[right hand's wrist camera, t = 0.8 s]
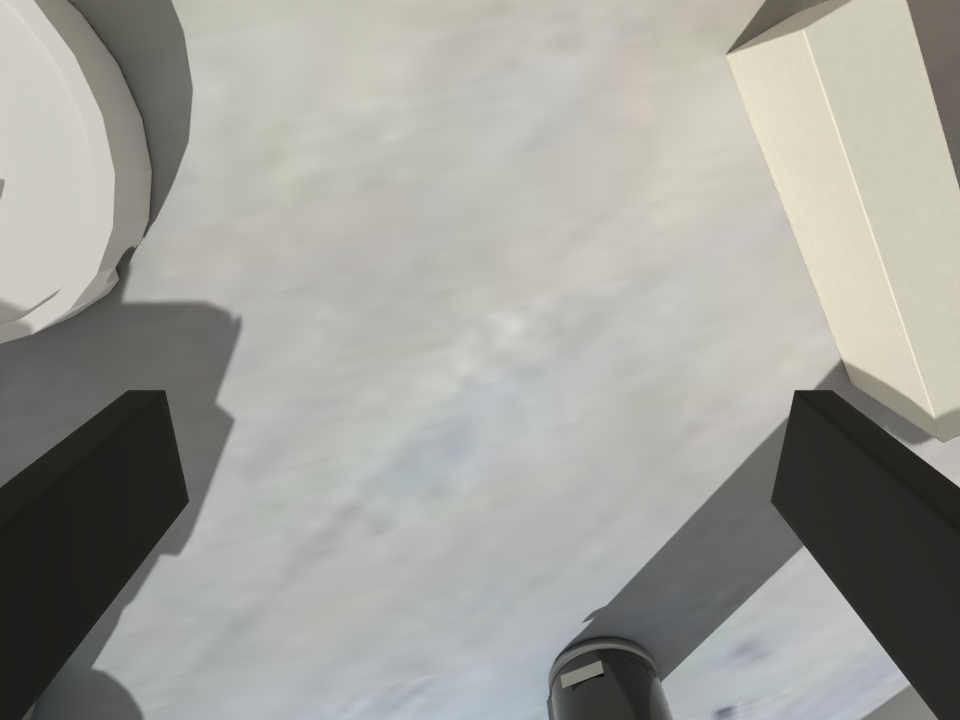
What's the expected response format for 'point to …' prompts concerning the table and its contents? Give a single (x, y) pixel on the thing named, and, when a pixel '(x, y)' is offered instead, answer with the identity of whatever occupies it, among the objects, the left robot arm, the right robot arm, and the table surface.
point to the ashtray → (63, 166)
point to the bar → (866, 194)
